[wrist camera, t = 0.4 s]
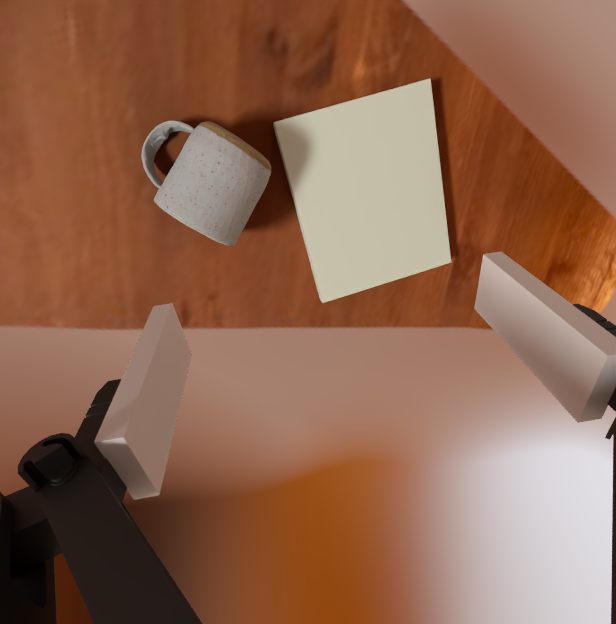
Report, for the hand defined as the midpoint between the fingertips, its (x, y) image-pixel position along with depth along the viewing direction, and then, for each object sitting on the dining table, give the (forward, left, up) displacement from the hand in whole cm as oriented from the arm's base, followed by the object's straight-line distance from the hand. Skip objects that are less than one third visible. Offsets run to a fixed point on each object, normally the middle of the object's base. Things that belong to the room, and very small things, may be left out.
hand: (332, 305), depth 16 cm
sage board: (0, +10, -24) cm, 26 cm away
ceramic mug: (-6, -5, -24) cm, 25 cm away
